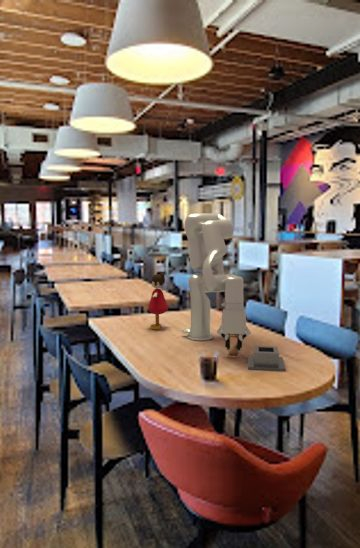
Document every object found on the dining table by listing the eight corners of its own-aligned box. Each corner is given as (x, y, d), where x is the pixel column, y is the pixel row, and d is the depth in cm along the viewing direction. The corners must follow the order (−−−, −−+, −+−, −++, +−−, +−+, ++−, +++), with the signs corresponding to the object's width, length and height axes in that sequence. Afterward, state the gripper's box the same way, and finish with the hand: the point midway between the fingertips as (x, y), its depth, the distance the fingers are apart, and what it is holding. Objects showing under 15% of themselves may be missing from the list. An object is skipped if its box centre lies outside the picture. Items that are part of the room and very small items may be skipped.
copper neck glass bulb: (227, 357, 175) (227, 334, 174) (228, 354, 180) (228, 331, 179) (238, 358, 175) (239, 334, 173) (239, 354, 179) (239, 331, 178)
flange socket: (247, 369, 162) (248, 354, 161) (247, 357, 175) (248, 343, 175) (285, 371, 159) (285, 355, 159) (282, 359, 173) (282, 345, 172)
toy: (150, 322, 237) (150, 269, 234) (170, 322, 237) (169, 269, 233) (145, 335, 211) (144, 275, 207) (167, 335, 211) (166, 275, 207)
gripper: (212, 307, 172) (212, 350, 175) (254, 308, 170) (254, 352, 172) (214, 303, 180) (214, 345, 182) (254, 304, 177) (253, 347, 179)
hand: (233, 348), depth 177 cm, fingers closed on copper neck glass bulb, 4 cm apart
